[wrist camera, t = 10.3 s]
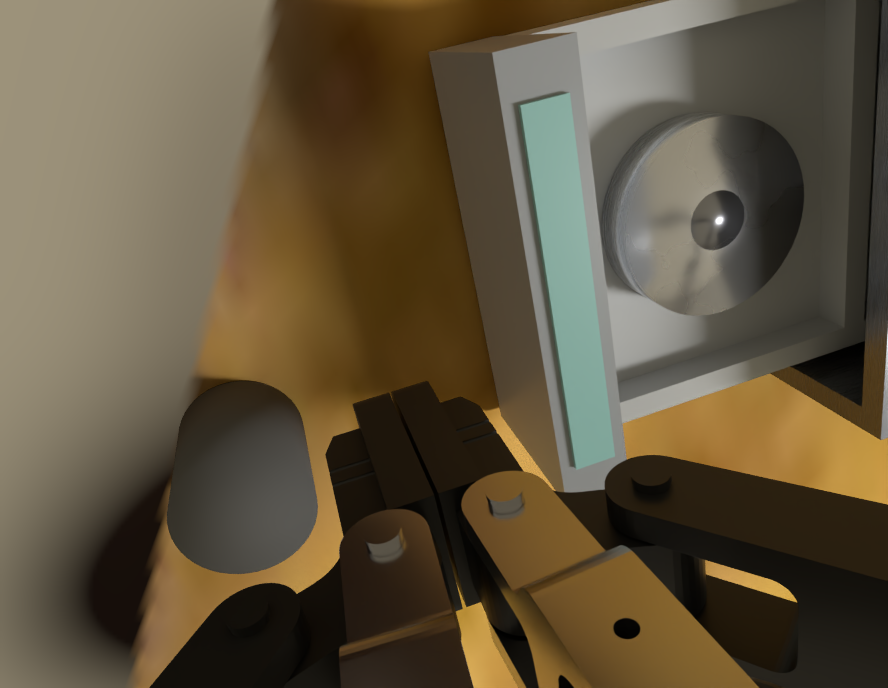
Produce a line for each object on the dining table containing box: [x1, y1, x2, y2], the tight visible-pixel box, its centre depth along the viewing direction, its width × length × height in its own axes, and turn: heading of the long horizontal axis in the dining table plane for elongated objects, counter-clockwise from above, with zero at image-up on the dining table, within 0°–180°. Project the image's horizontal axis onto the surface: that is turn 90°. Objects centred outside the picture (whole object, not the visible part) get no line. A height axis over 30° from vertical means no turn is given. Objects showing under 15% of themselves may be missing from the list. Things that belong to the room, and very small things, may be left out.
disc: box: [601, 112, 804, 316], centre depth 22 cm, size 6×6×2 cm
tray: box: [429, 0, 882, 492], centre depth 22 cm, size 12×15×6 cm
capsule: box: [167, 381, 318, 574], centre depth 22 cm, size 4×4×4 cm
